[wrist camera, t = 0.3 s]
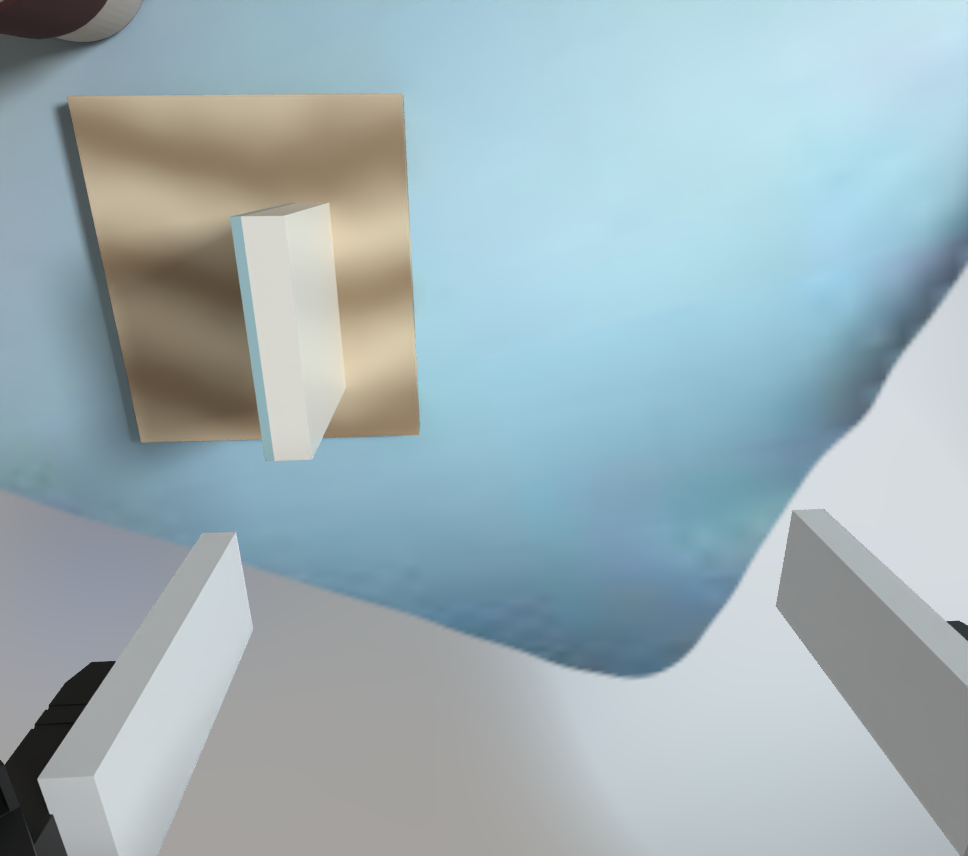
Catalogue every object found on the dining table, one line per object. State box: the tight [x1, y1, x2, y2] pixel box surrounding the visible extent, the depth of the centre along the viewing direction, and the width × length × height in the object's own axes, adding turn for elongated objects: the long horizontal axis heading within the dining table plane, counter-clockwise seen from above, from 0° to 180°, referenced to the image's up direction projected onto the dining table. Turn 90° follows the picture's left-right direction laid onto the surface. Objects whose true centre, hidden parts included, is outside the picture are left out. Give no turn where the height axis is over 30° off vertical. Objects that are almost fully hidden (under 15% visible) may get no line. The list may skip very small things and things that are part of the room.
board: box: [67, 94, 420, 443], centre depth 36 cm, size 18×16×1 cm
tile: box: [230, 203, 346, 461], centre depth 31 cm, size 10×2×10 cm, turn 1°
